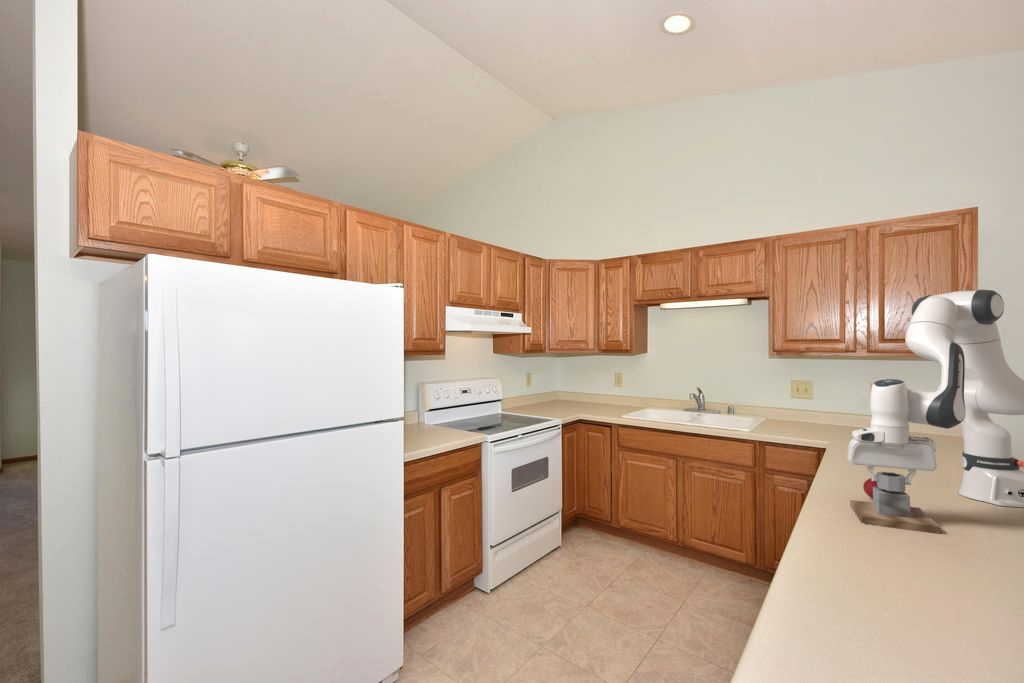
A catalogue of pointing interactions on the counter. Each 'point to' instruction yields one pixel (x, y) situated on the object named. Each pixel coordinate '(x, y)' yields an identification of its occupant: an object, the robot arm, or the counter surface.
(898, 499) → the post stand
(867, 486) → the red rounded piece
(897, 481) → the collar
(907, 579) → the counter surface
